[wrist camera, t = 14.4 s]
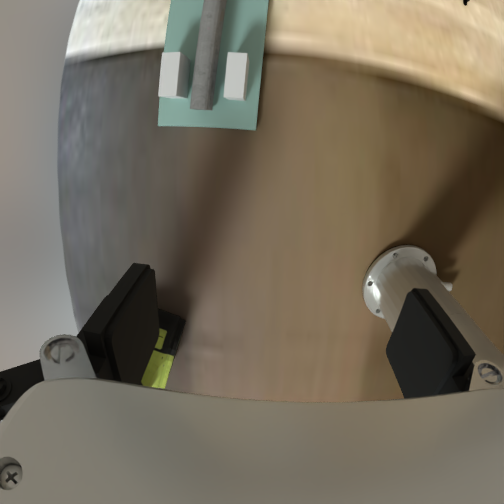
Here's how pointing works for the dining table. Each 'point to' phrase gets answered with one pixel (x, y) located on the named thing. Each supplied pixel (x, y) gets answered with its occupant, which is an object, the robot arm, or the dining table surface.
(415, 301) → the robot arm
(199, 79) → the metal rod assembly
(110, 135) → the dining table surface
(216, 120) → the jaw cradle
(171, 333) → the cordless drill
